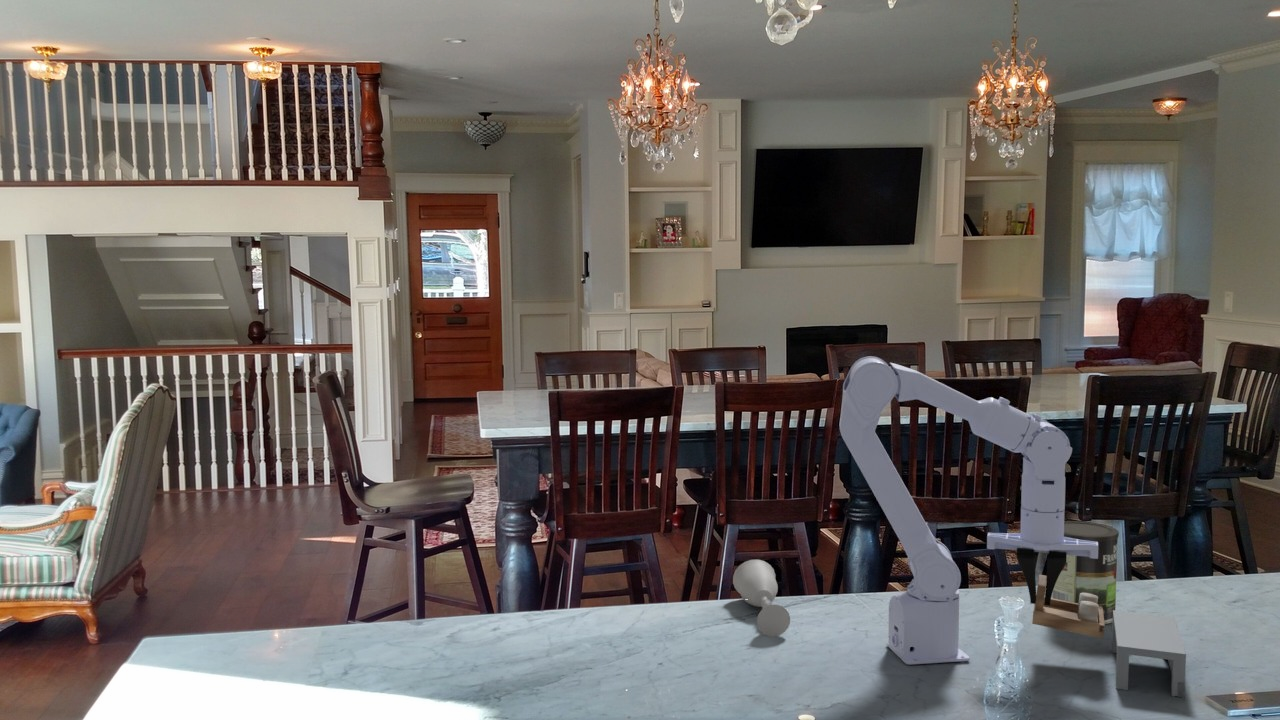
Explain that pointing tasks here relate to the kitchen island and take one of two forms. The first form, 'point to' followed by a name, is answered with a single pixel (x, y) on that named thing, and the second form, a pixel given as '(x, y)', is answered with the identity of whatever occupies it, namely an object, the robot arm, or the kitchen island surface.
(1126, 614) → the shelf
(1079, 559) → the coffee can
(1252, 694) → the kitchen island surface
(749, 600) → the chalice
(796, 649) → the kitchen island surface
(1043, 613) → the tray
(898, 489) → the robot arm
